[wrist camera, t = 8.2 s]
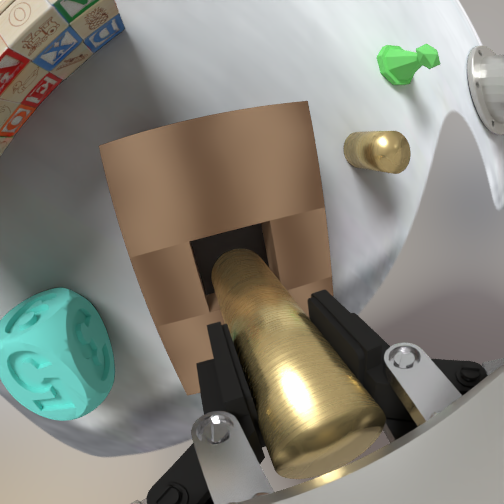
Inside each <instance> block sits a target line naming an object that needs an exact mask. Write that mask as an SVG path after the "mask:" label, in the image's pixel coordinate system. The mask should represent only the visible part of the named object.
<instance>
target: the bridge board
mask: <svg viewBox="0 0 504 504" xmlns="http://www.w3.org/2000/svg"><path fill="white" fill-rule="evenodd" d="M99 149H100V154H101V158H102V163H103V167H104V171H105V175H106V179H107V183H108V187H109V191H110V194H111V198H112V202H113V205H114V209H115V212H116V216H117V219H118V223H119V226H120V229H121V232H122V236H123V239H124V242H125V245H126V248H127V251H128V254H129V257H130V260H131V263H132V266H133V269H134V272H135V274H136V277H137V280H138V283H139V285H140V288H141V291H142V293H143V296H144V299H145V301H146V304H147V306H148V309H149V311H150V314H151V316H152V319H153V321H154V324H155V326H156V328H157V331H158V333H159V335H160V338H161V340H162V342H163V345H164V347H165V349H166V351H167V354H168V356H169V358H170V360H171V362H172V365H173V367H174V369H175V371H176V373H177V375H178V377H179V379H180V381H181V383H182V385H183V387H184V389H185V391H186V393H187V395H192V394H196V393H200V386H199V380H198V373H197V366H196V364H197V363H199V362H203V361H206V360H210V359H214V358H213V353H212V349H211V344H210V339H209V335H208V330H207V325H209V324H212V323H216V322H221V325H223V324H225V323H224V320H223V317H222V313H221V310H220V307H219V304H218V300H217V297H216V293H212V294H208V295H206V294H205V290H204V287H203V284H202V280H201V277H200V273H199V270H198V266H197V263H196V259H195V256H194V252H193V248H192V245H191V241H193V240H197V239H200V238H204V237H208V236H212V235H216V234H219V233H223V232H227V231H231V230H235V229H239V228H243V227H247V226H251V225H254V224H258V223H261V226H262V231H263V236H264V242H265V247H266V252H267V258H268V263H269V269H270V270H271V271H272V272H273V274H274V275H275V276H276V277H277V279H278V280H279V281H280V282H281V284H282V285H283V286H284V287H285V289H286V290H287V291H288V292H289V294H290V295H291V296H292V297H293V299H294V300H295V301H296V302H297V304H298V305H299V306H300V307H301V309H302V310H303V311H304V312H305V314H306V315H307V316H308V317H309V311H308V301H307V300H308V298H311V294H312V293H315V292H318V291H321V290H324V289H325V290H327V291H328V292H329V293H330V294H331V295H332V296H333V284H332V271H331V260H330V250H329V240H328V230H327V222H326V213H325V205H324V197H323V190H322V183H321V176H320V169H319V163H318V156H317V150H316V144H315V138H314V132H313V127H312V121H311V116H310V111H309V106H308V101H302V102H292V103H283V104H275V105H268V106H260V107H254V108H247V109H241V110H235V111H230V112H224V113H219V114H214V115H209V116H204V117H200V118H195V119H191V120H186V121H182V122H178V123H174V124H170V125H166V126H162V127H158V128H155V129H151V130H147V131H144V132H140V133H137V134H134V135H130V136H127V137H124V138H121V139H118V140H114V141H111V142H108V143H105V144H103V145H100V146H99Z"/></svg>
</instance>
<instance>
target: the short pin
mask: <svg viewBox="0 0 504 504" xmlns="http://www.w3.org/2000/svg"><path fill="white" fill-rule="evenodd" d="M344 155H345V158H346V160H347V161H348V163H349V164H350V165H352V166H353V167H356V168H362V169H369V170H375V171H381V172H387V173H393V174H398V173H401V172H402V171H404V170H405V169H406V167H407V166H408V164H409V161H410V147H409V143H408V141H407V139H406V138H405V137H404V136H403V135H402V134H401V133H399V132H397V131H371V132H354V133H352V134H350V135H349V136H348V137H347V139H346V140H345V143H344Z"/></svg>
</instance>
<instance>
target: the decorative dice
mask: <svg viewBox="0 0 504 504" xmlns="http://www.w3.org/2000/svg"><path fill="white" fill-rule="evenodd" d="M114 377H115V365H114V357H113V351H112V347H111V343H110V339H109V336H108V333H107V331H106V328H105V326H104V323H103V321H102V319H101V317H100V315H99V314H98V312H97V310H96V309H95V308H94V306H93V305H92V304H91V303H90V302H89V301H88V300H87V299H85V298H84V297H82V296H81V295H79V294H78V293H76V292H74V291H72V290H69V289H66V288H53V289H49V290H46V291H43V292H41V293H38V294H36V295H34V296H32V297H30V298H28V299H26V300H25V301H23V302H21V303H20V304H18V305H17V306H16V307H14V308H13V309H12V310H10V311H9V312H8V313H7V314H6V315H5V316H4V317H3V318H2V319H1V320H0V378H1V380H2V382H3V384H4V386H5V387H6V389H7V390H8V391H9V392H10V394H11V395H12V396H13V397H14V398H15V399H16V400H17V401H18V402H19V403H21V404H22V405H23V406H25V407H26V408H27V409H29V410H31V411H32V412H34V413H36V414H38V415H41V416H43V417H46V418H49V419H54V420H73V419H77V418H80V417H82V416H84V415H86V414H88V413H90V412H91V411H93V410H94V409H95V408H97V407H98V406H99V405H100V404H101V403H102V402H103V401H104V399H105V398H106V397H107V395H108V394H109V392H110V390H111V388H112V385H113V382H114Z"/></svg>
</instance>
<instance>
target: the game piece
mask: <svg viewBox="0 0 504 504" xmlns="http://www.w3.org/2000/svg"><path fill="white" fill-rule="evenodd" d="M416 52H417V53H415V52H410V51H405V50H403V49H402V48H401V47H400V46H391V45H386V46H384V47H382V49H381V50H380V52H379V54H378V56H377V61H378V64H379V68H380V72H381V74H382V75H383V76H384V77H385V78H386V79H387V80H388V81H389V82H390V83H391V84H392V85H406V84H410V82H411V80H412V78H413V76H414V73H415V72H416V71H417V70H418V69H419V68H420V67H421V66H422V65H423V66H425V67H427V68H428V69H431V68H433V67H435V66H437V65H440V61H439V56H438V52H437V50H436V49H434V48H433V47H431V46H430V45H428V44H425V45H423V46H421V47H419V48H417V49H416Z"/></svg>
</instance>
